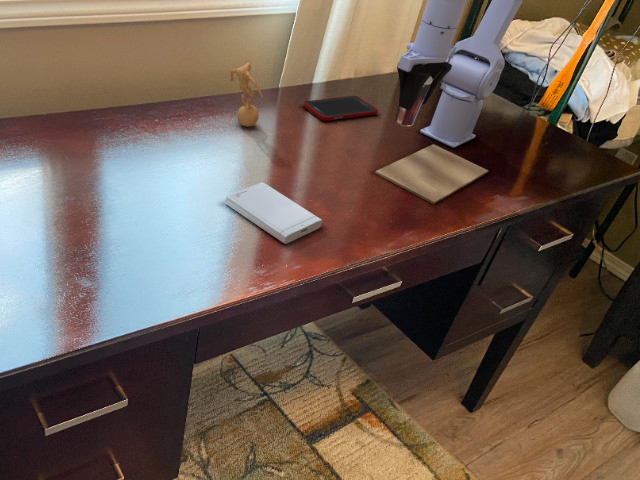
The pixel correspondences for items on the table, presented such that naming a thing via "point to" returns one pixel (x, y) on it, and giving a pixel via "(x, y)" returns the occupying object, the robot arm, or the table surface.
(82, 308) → the table surface
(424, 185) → the desk mat
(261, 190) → the hard drive
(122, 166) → the table surface
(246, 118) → the figurine
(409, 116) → the milkshake
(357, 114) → the cell phone
